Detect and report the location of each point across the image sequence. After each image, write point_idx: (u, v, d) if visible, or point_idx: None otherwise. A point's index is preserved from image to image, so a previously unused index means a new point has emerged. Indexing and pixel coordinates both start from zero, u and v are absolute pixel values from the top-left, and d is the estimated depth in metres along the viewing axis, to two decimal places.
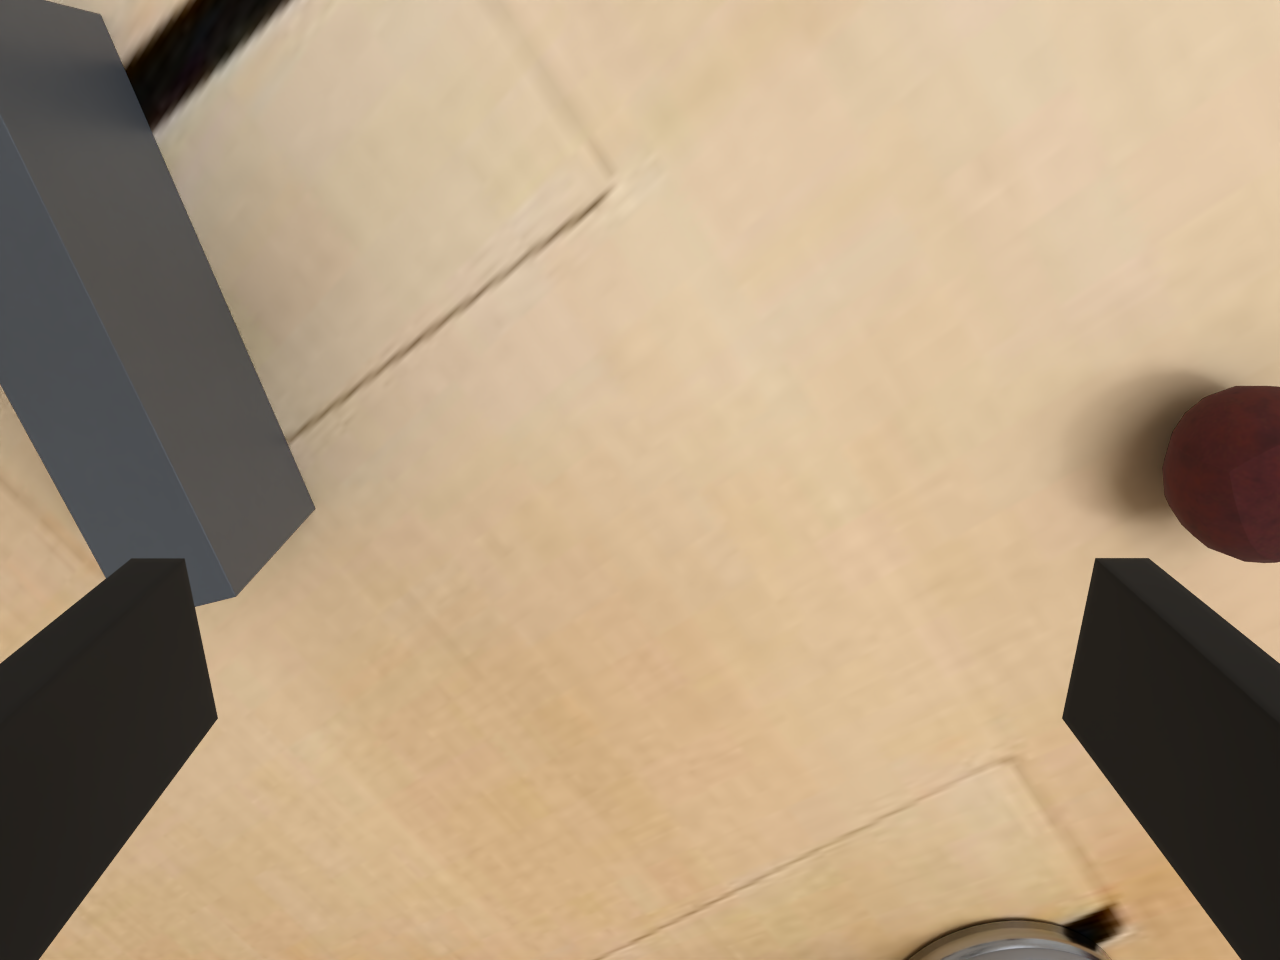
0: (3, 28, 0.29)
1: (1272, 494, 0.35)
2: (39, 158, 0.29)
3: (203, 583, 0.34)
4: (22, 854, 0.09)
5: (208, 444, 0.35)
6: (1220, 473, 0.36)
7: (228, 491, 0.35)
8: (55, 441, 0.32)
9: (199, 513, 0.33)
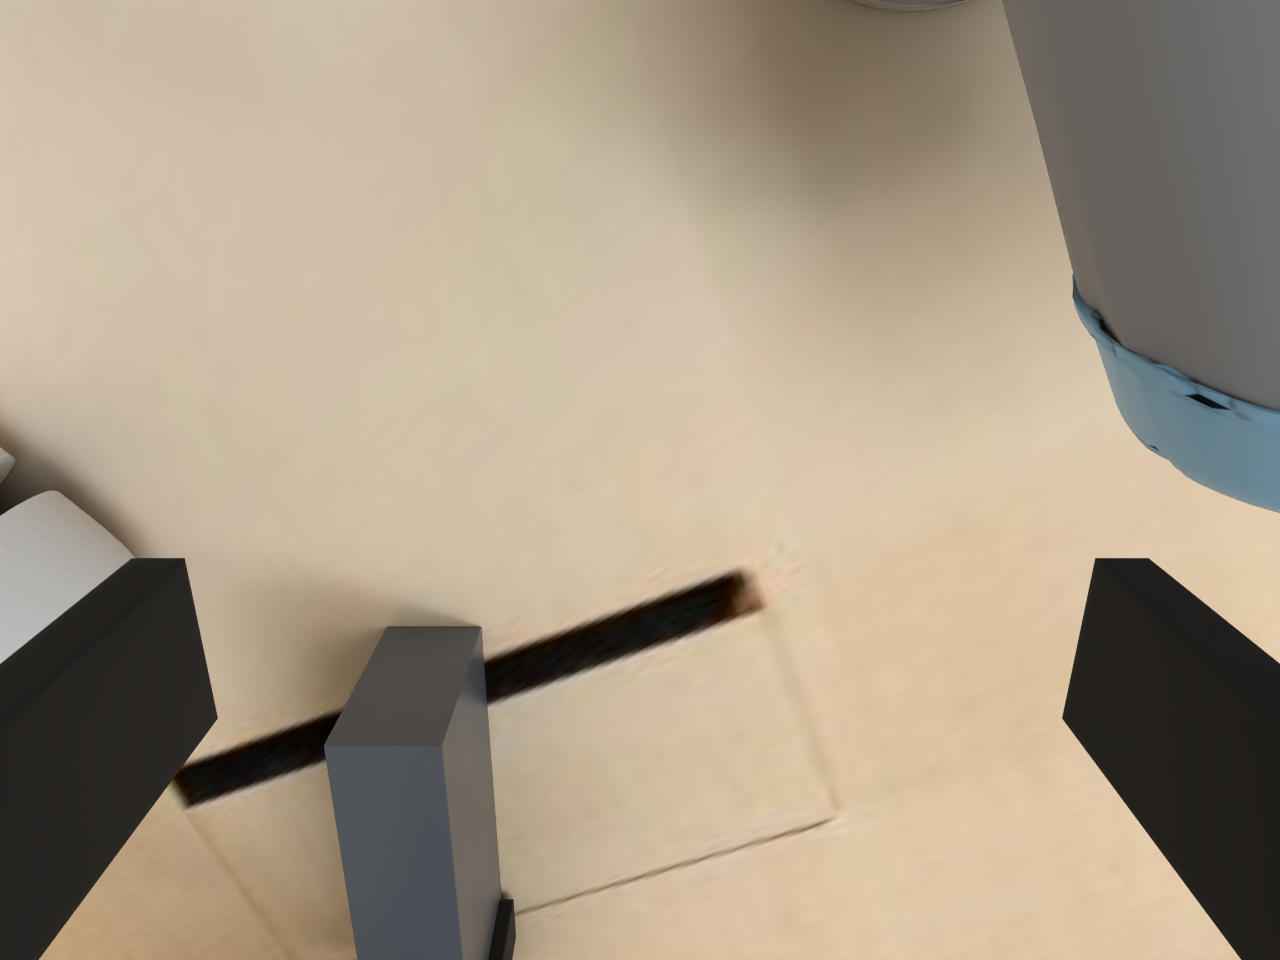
0: (456, 736, 0.36)
1: None
2: (457, 841, 0.36)
3: None
4: (22, 855, 0.09)
5: None
6: None
7: None
8: None
9: None
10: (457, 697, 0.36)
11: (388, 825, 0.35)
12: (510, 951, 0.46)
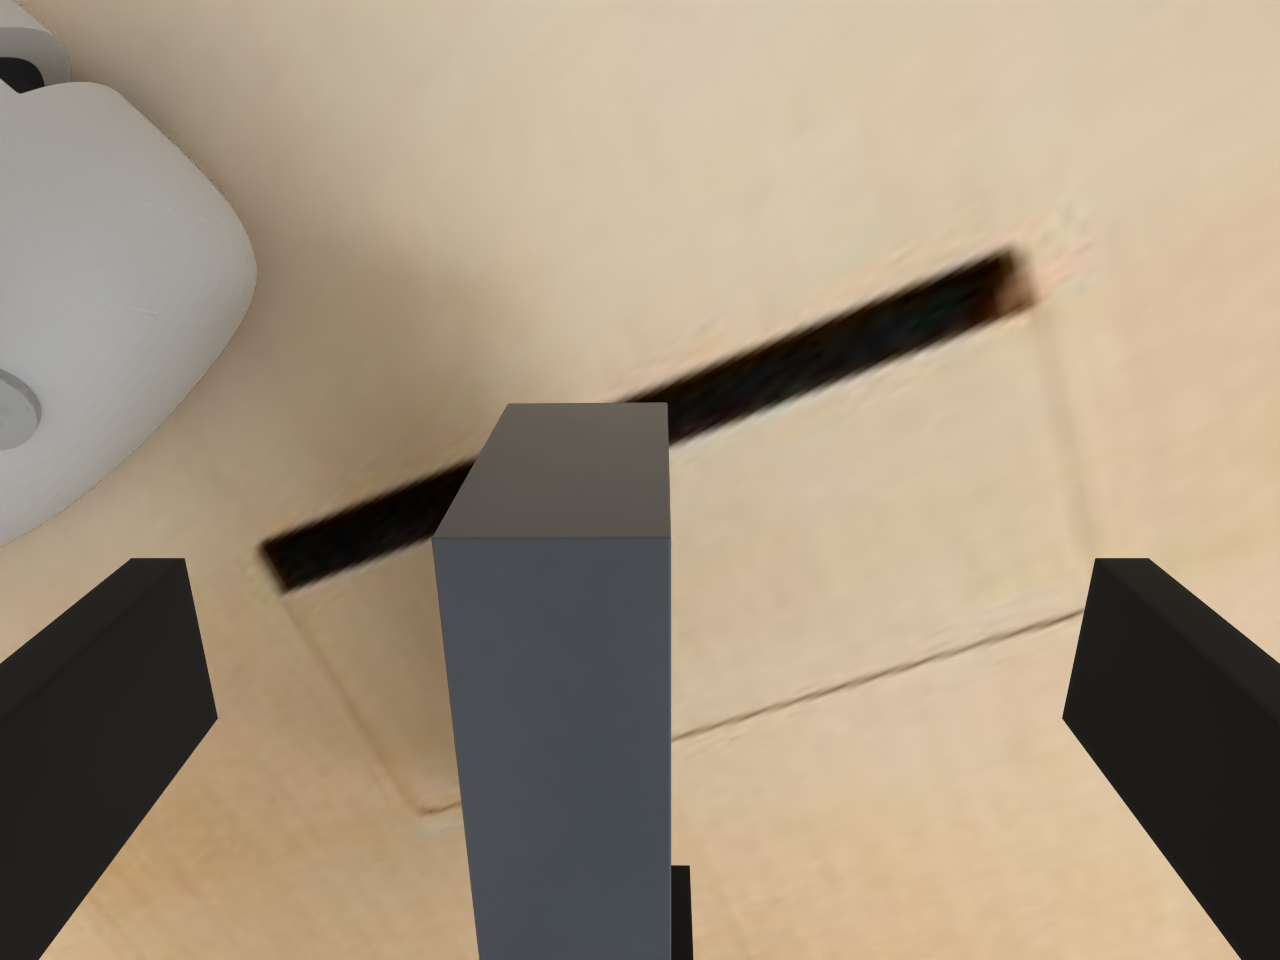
0: None
1: None
2: None
3: None
4: (21, 855, 0.09)
5: None
6: None
7: None
8: None
9: None
10: (668, 477, 0.19)
11: (551, 709, 0.18)
12: None
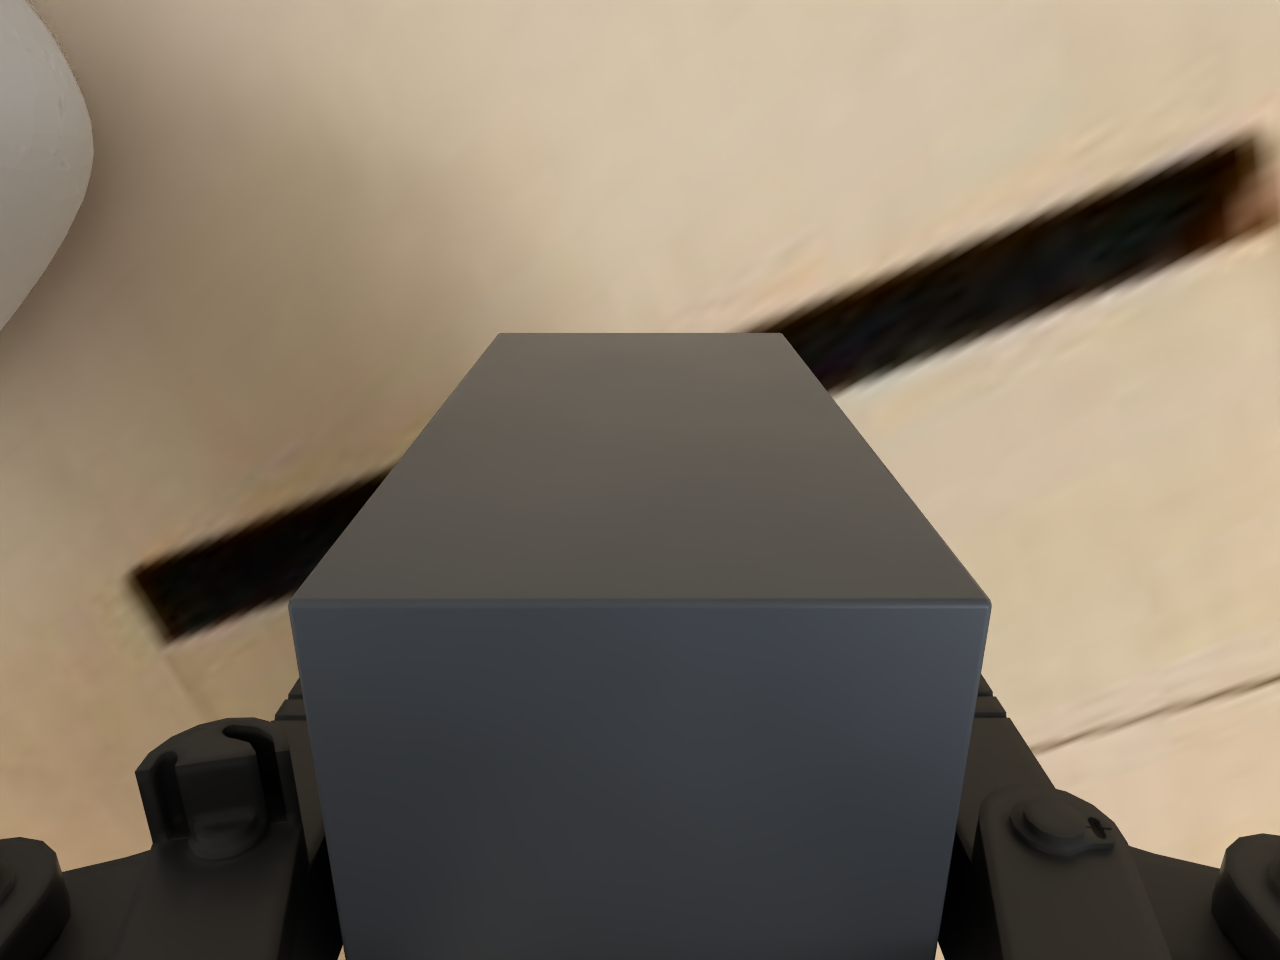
0: None
1: None
2: None
3: None
4: None
5: None
6: None
7: None
8: None
9: None
10: (870, 447, 0.09)
11: None
12: None
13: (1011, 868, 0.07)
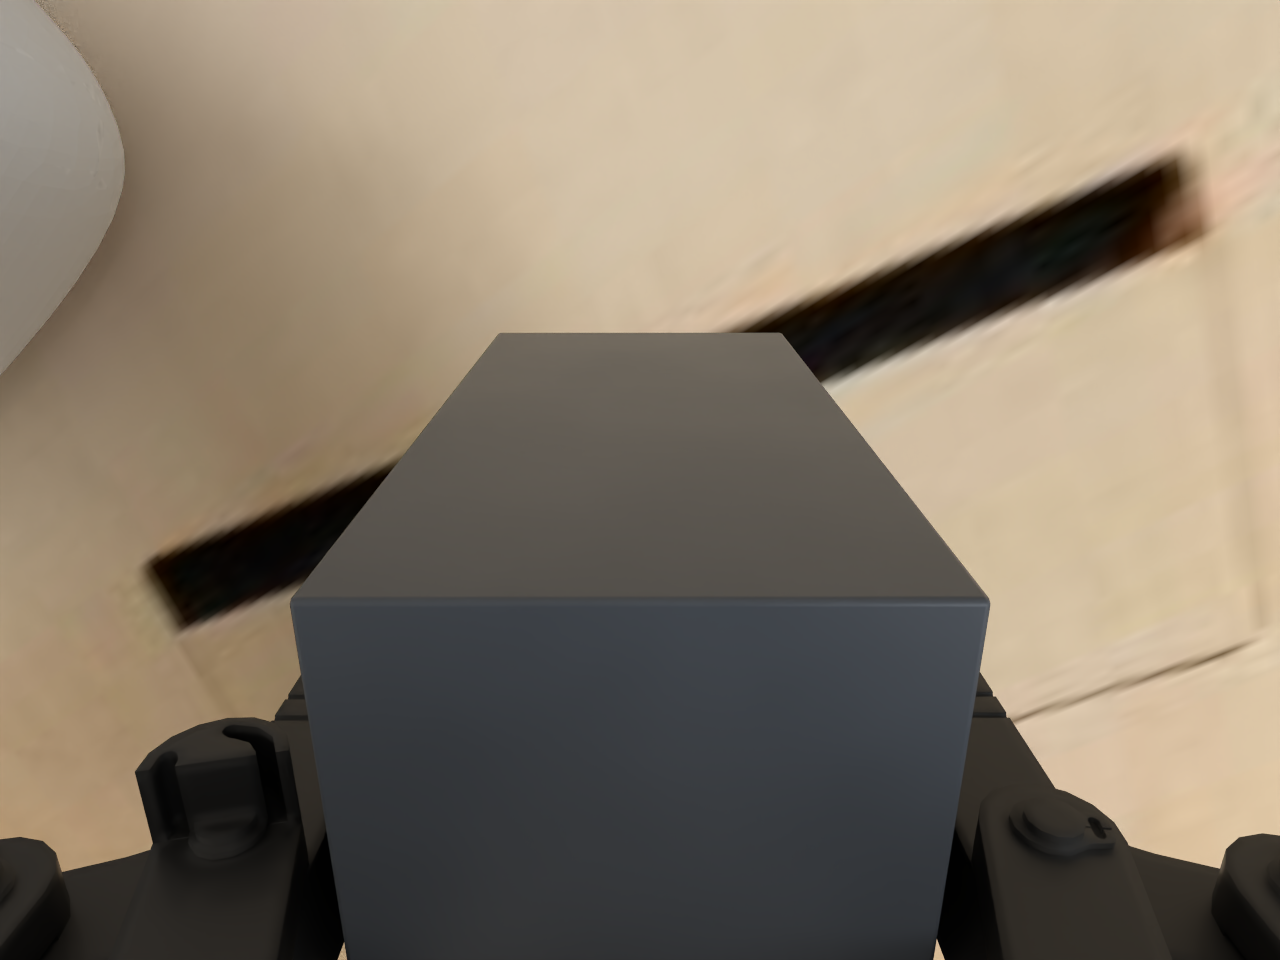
0: None
1: None
2: None
3: None
4: None
5: None
6: None
7: None
8: None
9: None
10: (869, 446, 0.09)
11: None
12: None
13: (1011, 868, 0.07)
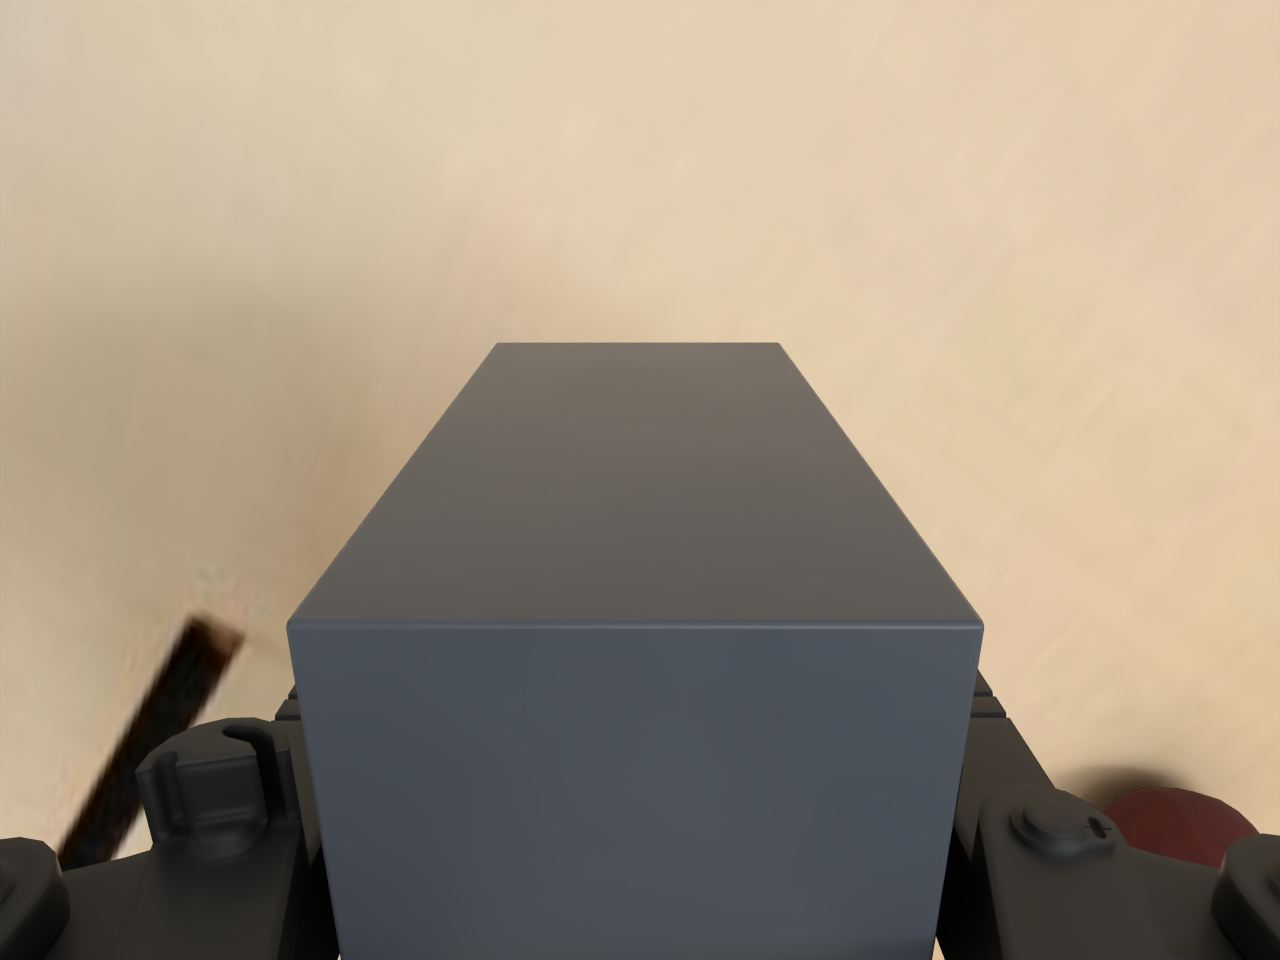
0: None
1: None
2: None
3: None
4: None
5: None
6: None
7: None
8: None
9: None
10: (866, 462, 0.09)
11: None
12: None
13: (1011, 868, 0.07)
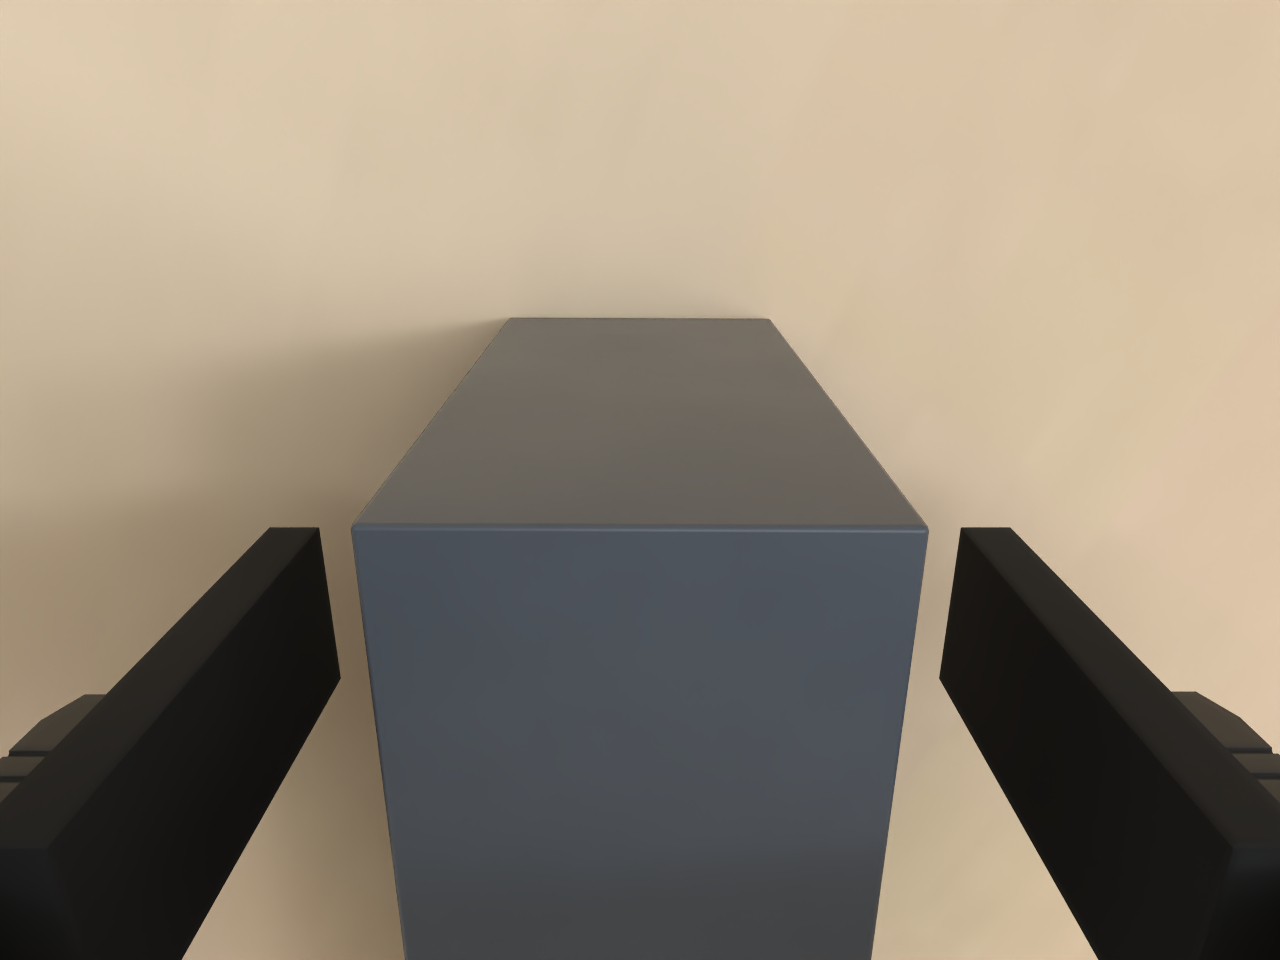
0: None
1: None
2: None
3: None
4: (215, 784, 0.10)
5: None
6: None
7: None
8: None
9: None
10: (841, 414, 0.10)
11: (618, 904, 0.08)
12: None
13: None
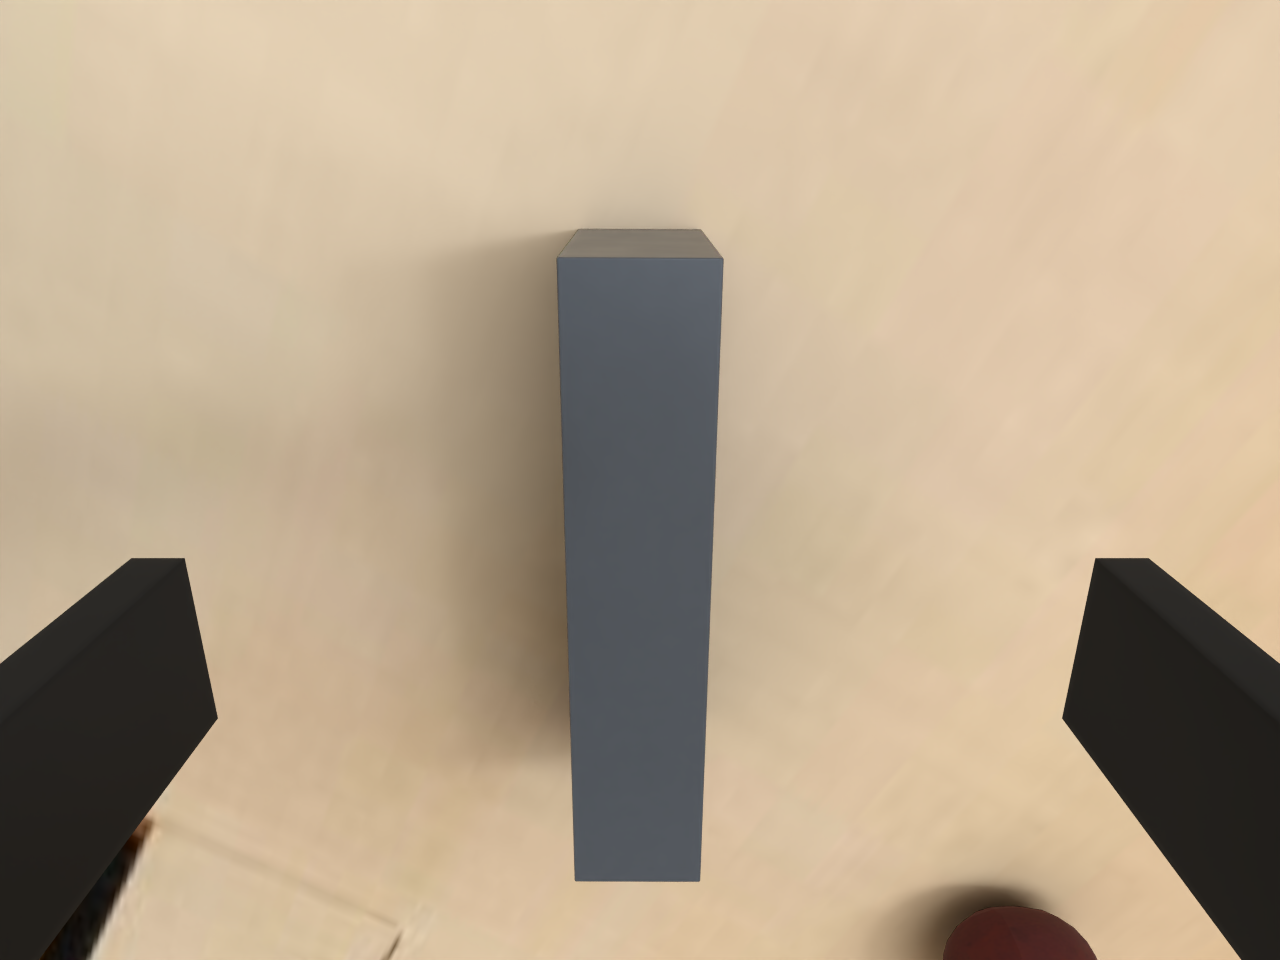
0: None
1: None
2: None
3: (672, 863, 0.31)
4: (23, 854, 0.09)
5: None
6: None
7: None
8: (595, 705, 0.29)
9: (702, 799, 0.31)
10: (713, 246, 0.27)
11: (633, 396, 0.25)
12: None
13: None
